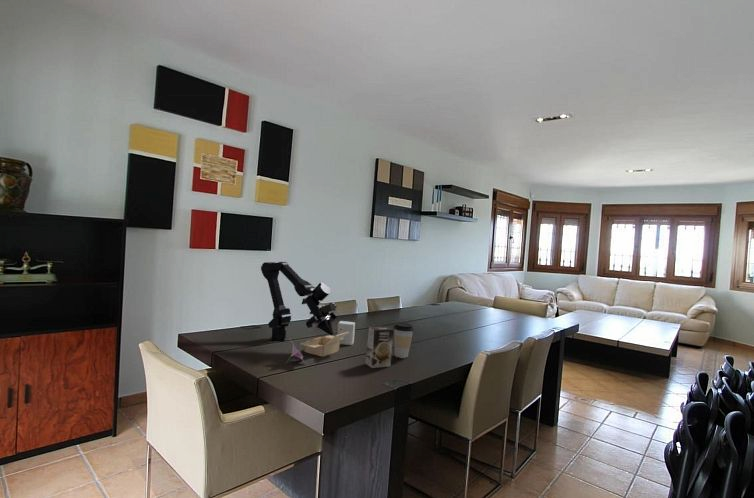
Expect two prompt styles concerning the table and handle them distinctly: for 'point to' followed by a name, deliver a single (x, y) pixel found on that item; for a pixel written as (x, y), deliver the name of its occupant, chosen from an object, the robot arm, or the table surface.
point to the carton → (321, 346)
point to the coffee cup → (402, 339)
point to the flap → (336, 338)
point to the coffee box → (379, 347)
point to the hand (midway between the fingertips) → (332, 335)
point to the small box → (344, 328)
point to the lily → (296, 353)
